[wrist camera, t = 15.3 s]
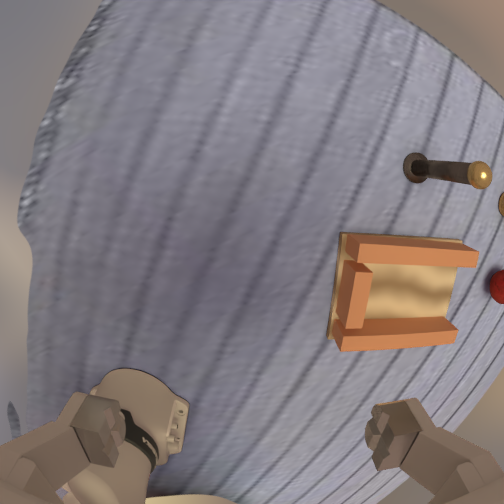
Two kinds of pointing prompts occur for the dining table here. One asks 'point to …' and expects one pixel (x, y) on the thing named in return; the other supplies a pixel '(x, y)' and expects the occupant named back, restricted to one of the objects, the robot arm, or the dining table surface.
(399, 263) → the c link
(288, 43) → the dining table surface
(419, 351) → the dining table surface
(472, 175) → the post stand
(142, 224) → the dining table surface
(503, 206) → the sprinkles bottle
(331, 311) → the tray
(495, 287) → the onion
